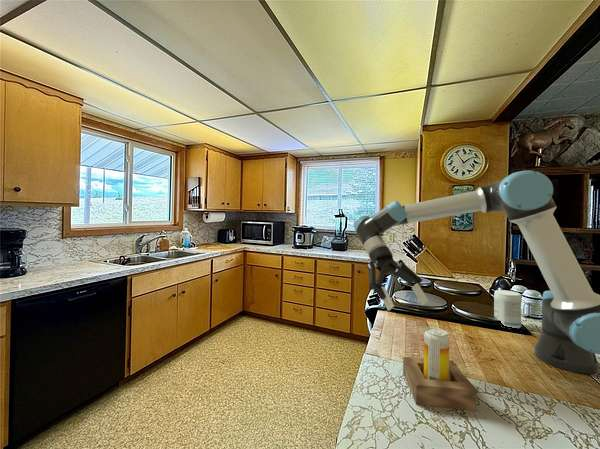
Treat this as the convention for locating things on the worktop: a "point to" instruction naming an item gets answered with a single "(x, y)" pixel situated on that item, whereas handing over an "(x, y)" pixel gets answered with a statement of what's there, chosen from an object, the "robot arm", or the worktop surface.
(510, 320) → the supplement tub
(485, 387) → the worktop surface
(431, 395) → the walnut socket holder
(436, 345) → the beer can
